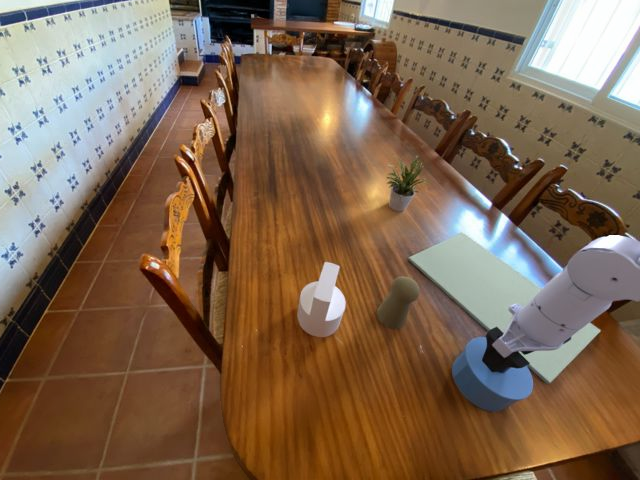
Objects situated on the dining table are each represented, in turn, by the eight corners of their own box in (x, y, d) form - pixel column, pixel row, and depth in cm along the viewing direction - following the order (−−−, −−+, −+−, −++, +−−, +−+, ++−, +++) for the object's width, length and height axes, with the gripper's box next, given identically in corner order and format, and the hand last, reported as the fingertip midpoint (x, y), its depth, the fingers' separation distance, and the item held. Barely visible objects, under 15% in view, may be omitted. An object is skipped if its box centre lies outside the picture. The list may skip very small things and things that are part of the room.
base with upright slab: (335, 343, 57) (347, 308, 50) (291, 328, 59) (296, 292, 52) (343, 305, 64) (355, 270, 56) (304, 293, 66) (310, 256, 58)
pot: (520, 393, 53) (540, 379, 49) (488, 423, 49) (508, 411, 45) (472, 346, 59) (487, 331, 55) (440, 370, 55) (454, 355, 51)
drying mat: (598, 332, 64) (601, 330, 63) (547, 384, 54) (550, 382, 54) (460, 234, 85) (462, 232, 85) (407, 259, 76) (408, 257, 76)
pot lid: (541, 381, 49) (560, 369, 46) (507, 415, 45) (525, 404, 42) (485, 330, 56) (498, 317, 53) (450, 356, 52) (462, 342, 49)
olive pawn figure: (409, 329, 61) (429, 298, 54) (380, 328, 61) (396, 296, 54) (401, 304, 65) (418, 272, 58) (374, 302, 65) (388, 270, 58)
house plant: (378, 186, 102) (392, 142, 91) (419, 198, 98) (439, 153, 88) (370, 209, 91) (384, 162, 81) (416, 223, 88) (437, 176, 77)
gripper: (560, 273, 45) (511, 321, 54) (496, 301, 40) (453, 349, 49) (614, 312, 40) (550, 358, 49) (547, 350, 35) (490, 393, 44)
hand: (504, 356), depth 48 cm, fingers open, 7 cm apart
